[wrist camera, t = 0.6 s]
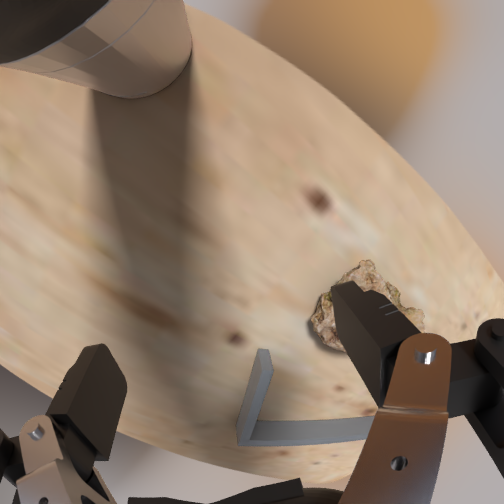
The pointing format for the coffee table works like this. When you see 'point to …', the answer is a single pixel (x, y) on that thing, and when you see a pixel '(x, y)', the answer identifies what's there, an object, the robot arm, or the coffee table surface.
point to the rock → (366, 281)
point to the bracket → (289, 431)
